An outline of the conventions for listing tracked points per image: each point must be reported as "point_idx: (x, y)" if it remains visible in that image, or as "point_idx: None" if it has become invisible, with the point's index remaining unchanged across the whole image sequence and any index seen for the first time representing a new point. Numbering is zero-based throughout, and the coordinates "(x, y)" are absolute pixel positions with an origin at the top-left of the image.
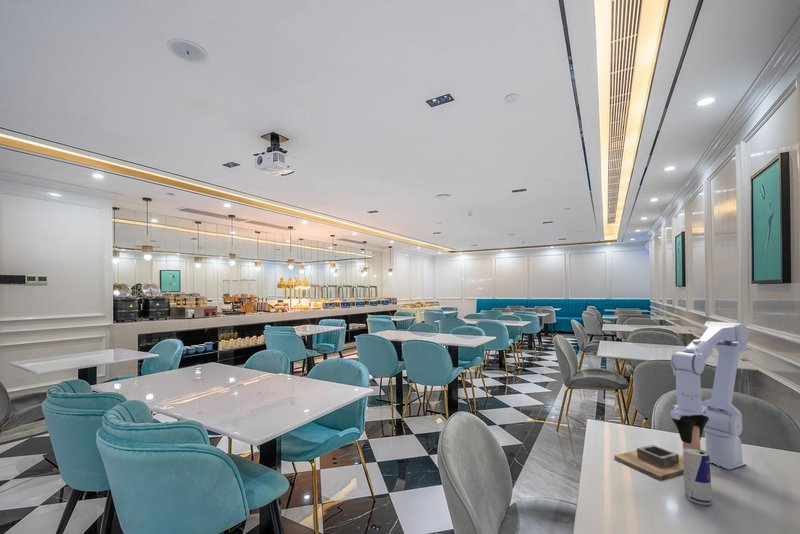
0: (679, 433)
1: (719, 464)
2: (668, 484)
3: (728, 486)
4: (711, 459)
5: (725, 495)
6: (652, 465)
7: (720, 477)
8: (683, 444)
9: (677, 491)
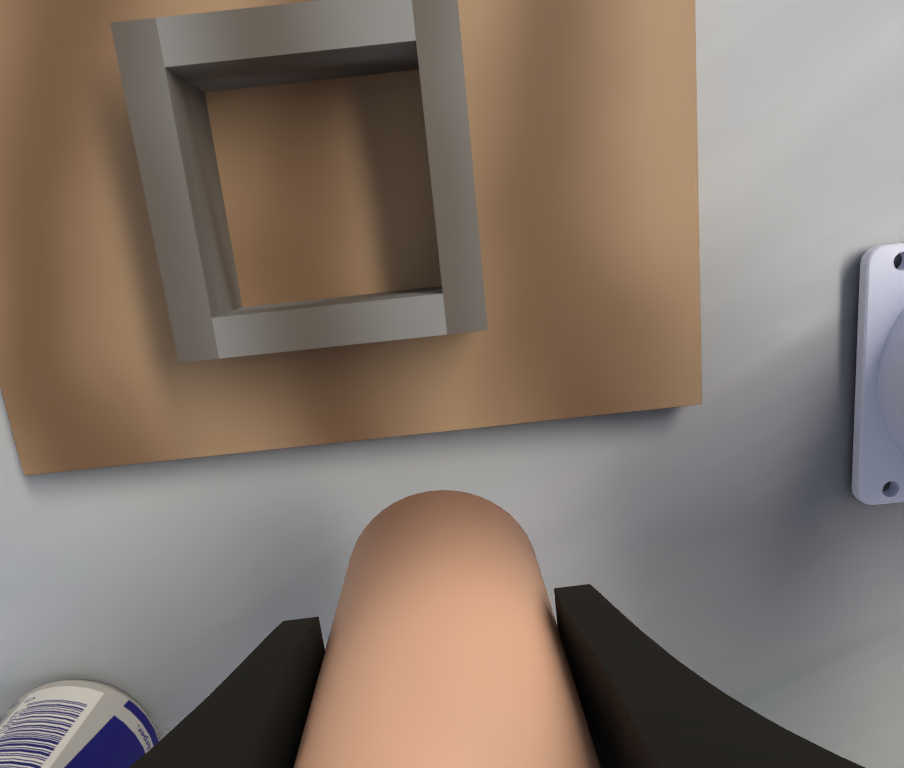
0: (210, 698)
1: (870, 428)
2: (55, 534)
3: None
4: (893, 362)
5: None
6: (143, 285)
7: (624, 562)
8: (350, 570)
9: (33, 627)
